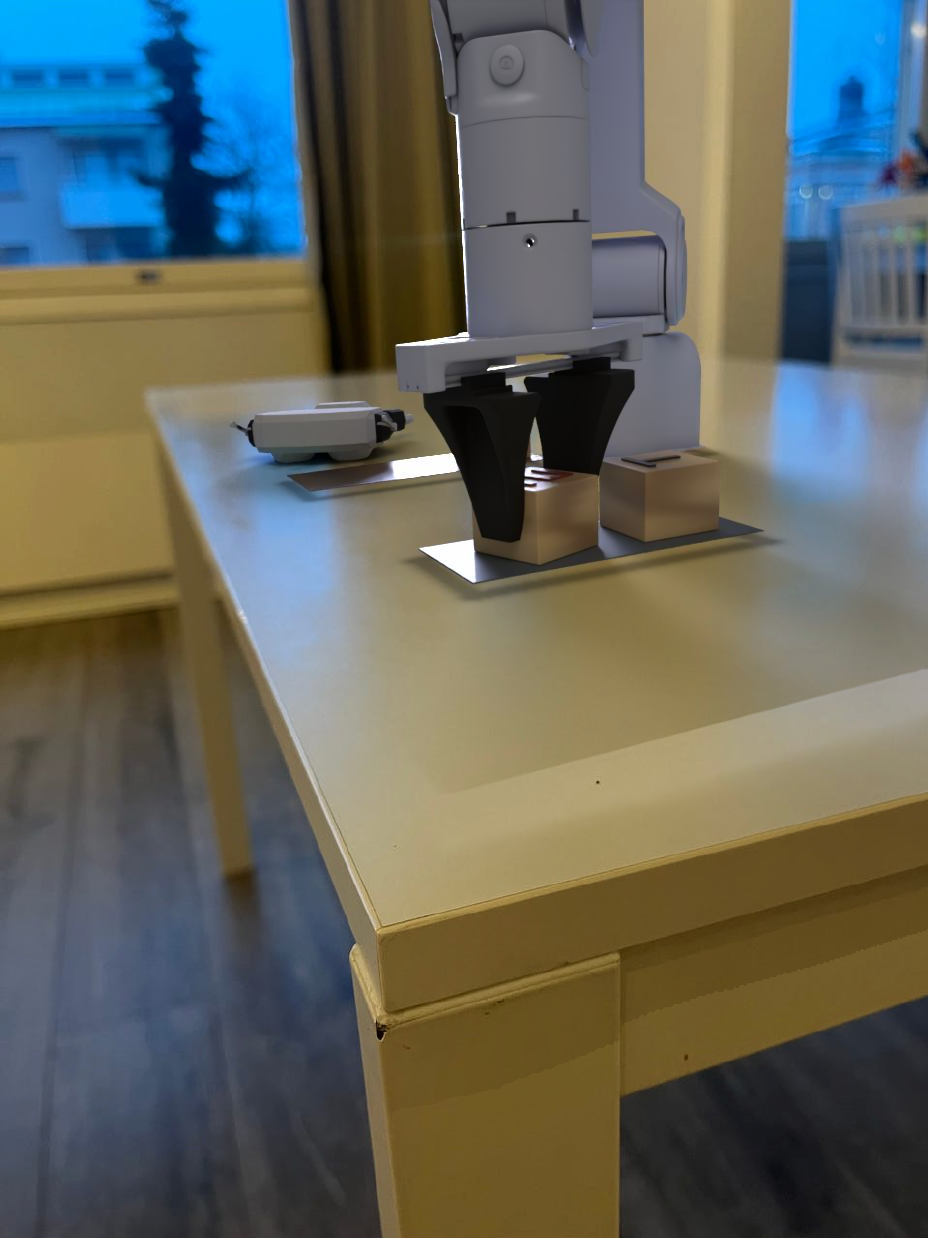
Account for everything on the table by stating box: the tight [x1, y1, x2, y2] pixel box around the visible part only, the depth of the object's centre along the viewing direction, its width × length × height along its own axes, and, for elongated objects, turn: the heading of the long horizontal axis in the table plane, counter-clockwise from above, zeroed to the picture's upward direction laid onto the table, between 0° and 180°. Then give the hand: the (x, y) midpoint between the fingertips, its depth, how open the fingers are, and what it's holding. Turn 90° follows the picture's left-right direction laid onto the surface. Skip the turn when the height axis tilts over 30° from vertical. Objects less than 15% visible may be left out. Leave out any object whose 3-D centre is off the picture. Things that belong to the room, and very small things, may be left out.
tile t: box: [598, 450, 722, 543], centre depth 49 cm, size 4×4×4 cm
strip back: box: [286, 453, 543, 493], centre depth 70 cm, size 18×7×1 cm, turn 113°
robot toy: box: [229, 400, 415, 463], centre depth 79 cm, size 12×4×15 cm
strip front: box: [418, 516, 765, 585], centre depth 48 cm, size 16×7×1 cm, turn 113°
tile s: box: [470, 466, 600, 565], centre depth 46 cm, size 4×4×4 cm
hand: (536, 527), depth 47 cm, fingers closed on tile s, 4 cm apart
